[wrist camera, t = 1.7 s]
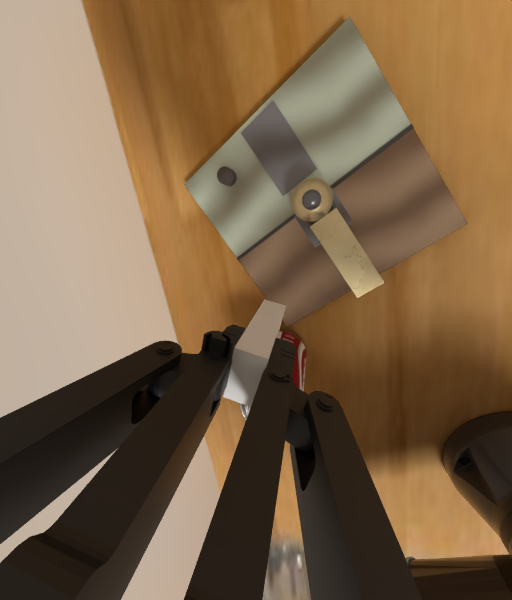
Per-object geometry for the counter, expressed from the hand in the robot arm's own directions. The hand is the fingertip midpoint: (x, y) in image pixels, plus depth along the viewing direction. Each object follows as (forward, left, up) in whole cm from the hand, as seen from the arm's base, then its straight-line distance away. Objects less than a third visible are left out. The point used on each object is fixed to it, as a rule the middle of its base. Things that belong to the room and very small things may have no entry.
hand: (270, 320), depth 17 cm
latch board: (+5, -6, -16) cm, 18 cm away
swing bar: (+1, -6, -14) cm, 16 cm away
